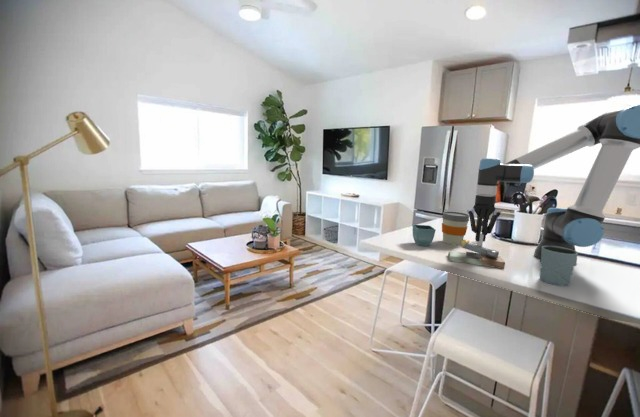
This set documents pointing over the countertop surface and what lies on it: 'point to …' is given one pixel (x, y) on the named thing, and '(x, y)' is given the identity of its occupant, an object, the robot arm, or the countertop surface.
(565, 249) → the grey green cup
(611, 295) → the countertop surface
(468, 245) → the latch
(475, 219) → the wineglass
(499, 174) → the robot arm
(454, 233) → the reusable coffee cup
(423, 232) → the flower pot
